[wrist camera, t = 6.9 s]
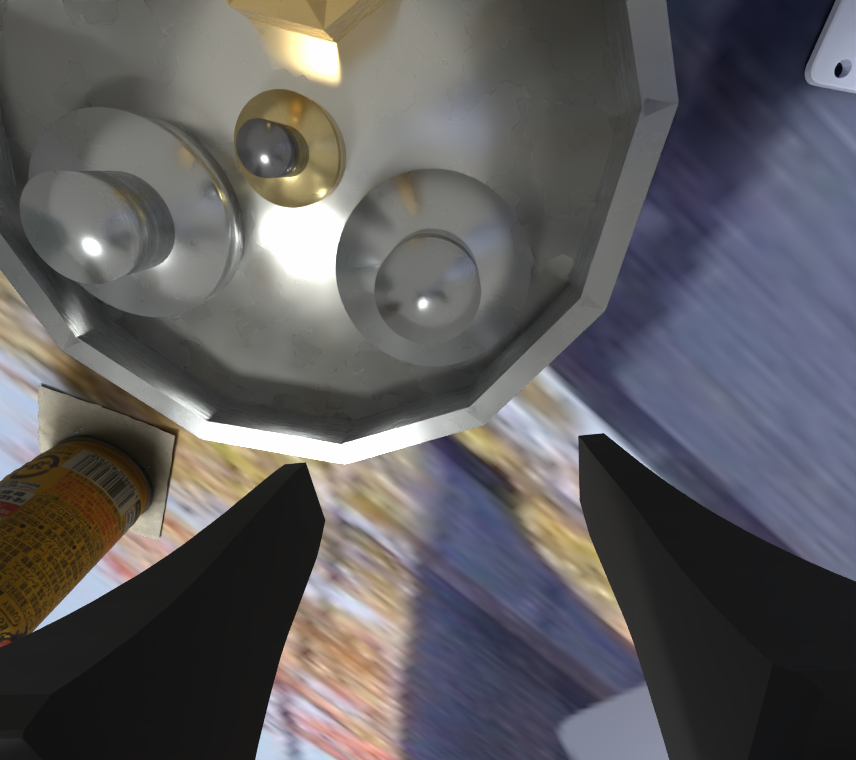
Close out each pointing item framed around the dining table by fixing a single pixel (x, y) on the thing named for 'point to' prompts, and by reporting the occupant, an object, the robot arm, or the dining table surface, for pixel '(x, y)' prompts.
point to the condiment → (75, 504)
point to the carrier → (326, 203)
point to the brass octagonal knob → (309, 15)
